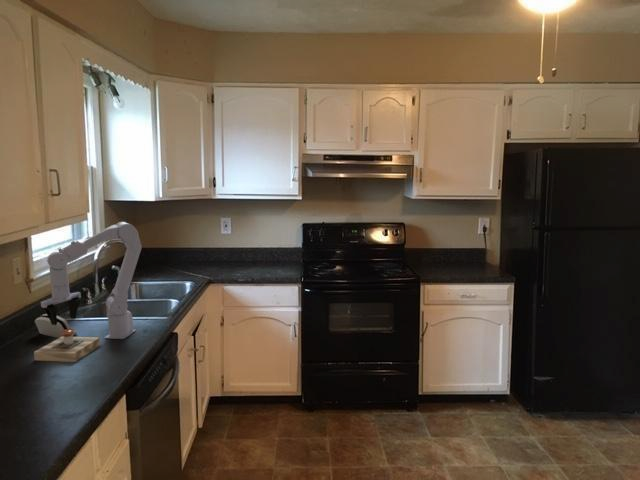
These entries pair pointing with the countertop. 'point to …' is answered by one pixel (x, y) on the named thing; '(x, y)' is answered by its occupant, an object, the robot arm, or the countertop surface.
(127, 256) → the robot arm
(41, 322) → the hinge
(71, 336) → the pin
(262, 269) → the countertop surface
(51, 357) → the block
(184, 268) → the countertop surface
